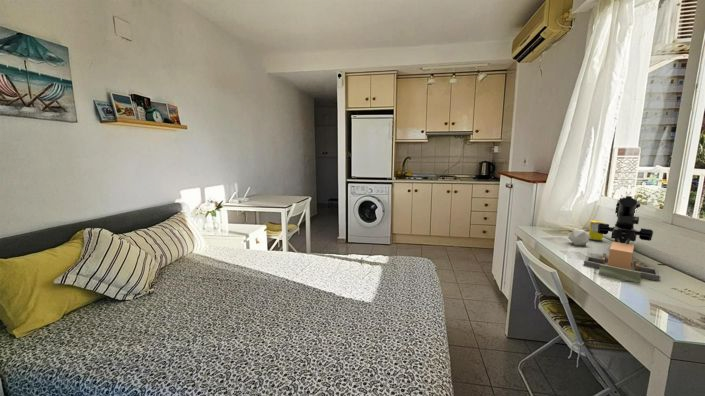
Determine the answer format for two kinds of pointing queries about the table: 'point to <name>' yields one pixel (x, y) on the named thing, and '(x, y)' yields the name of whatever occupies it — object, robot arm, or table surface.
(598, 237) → the supplement box
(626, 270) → the small wooden bench
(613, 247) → the orange tan rectangular block
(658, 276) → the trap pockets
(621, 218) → the robot arm
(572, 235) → the die
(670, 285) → the table surface
